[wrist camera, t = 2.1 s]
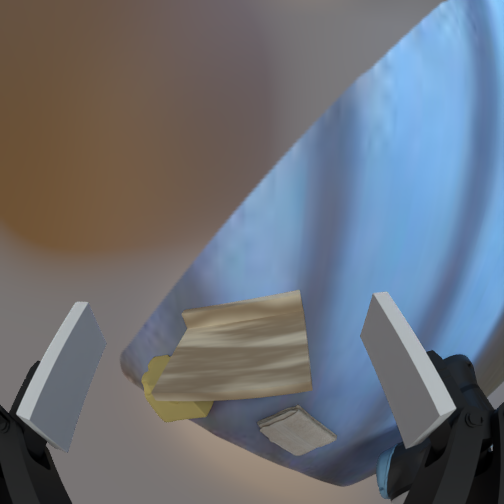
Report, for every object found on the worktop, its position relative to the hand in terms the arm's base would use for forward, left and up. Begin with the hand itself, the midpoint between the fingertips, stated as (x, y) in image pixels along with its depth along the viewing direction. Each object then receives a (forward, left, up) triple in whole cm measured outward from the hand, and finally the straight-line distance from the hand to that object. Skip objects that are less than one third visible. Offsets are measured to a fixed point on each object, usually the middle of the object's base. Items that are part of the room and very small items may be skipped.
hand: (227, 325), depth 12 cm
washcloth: (-49, +4, -31) cm, 58 cm away
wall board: (-21, +8, -30) cm, 38 cm away
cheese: (-26, +23, -31) cm, 46 cm away
